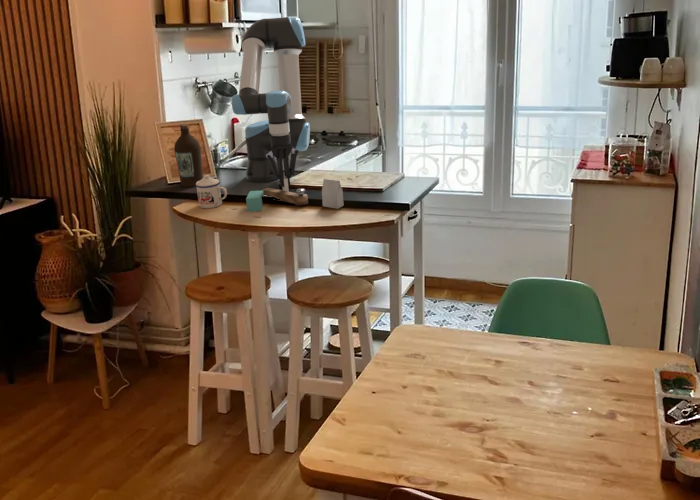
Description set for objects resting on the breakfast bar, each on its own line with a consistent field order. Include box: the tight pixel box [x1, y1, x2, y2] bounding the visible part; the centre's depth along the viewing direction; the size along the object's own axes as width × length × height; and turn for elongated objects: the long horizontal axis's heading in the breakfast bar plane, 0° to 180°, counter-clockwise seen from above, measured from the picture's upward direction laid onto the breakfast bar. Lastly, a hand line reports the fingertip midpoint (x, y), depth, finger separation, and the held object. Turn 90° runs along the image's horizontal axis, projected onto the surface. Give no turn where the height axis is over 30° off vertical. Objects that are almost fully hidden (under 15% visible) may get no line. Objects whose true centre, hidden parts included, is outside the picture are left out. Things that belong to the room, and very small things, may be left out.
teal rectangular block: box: [245, 189, 263, 213], centre depth 279 cm, size 10×5×5 cm, turn 178°
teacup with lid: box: [195, 174, 228, 209], centre depth 283 cm, size 12×9×12 cm
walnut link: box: [262, 187, 309, 206], centre depth 284 cm, size 21×5×3 cm, turn 50°
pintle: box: [295, 187, 306, 196], centre depth 278 cm, size 3×3×2 cm
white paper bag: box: [321, 178, 345, 210], centre depth 274 cm, size 4×7×10 cm, turn 56°
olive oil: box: [173, 123, 204, 188], centre depth 311 cm, size 11×11×25 cm
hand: (286, 194), depth 287 cm, fingers closed
